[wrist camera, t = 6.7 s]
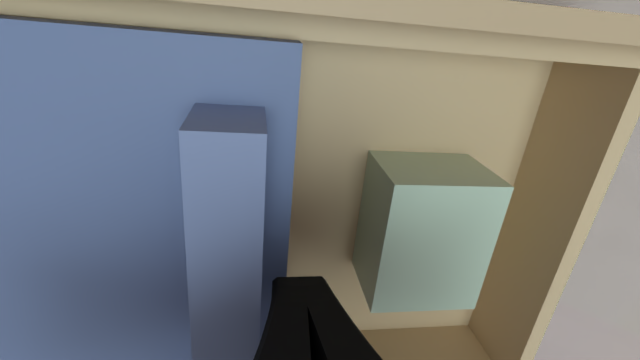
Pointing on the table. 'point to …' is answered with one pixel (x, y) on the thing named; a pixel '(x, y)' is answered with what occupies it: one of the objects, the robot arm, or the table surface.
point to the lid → (142, 189)
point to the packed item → (426, 230)
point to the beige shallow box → (436, 135)
